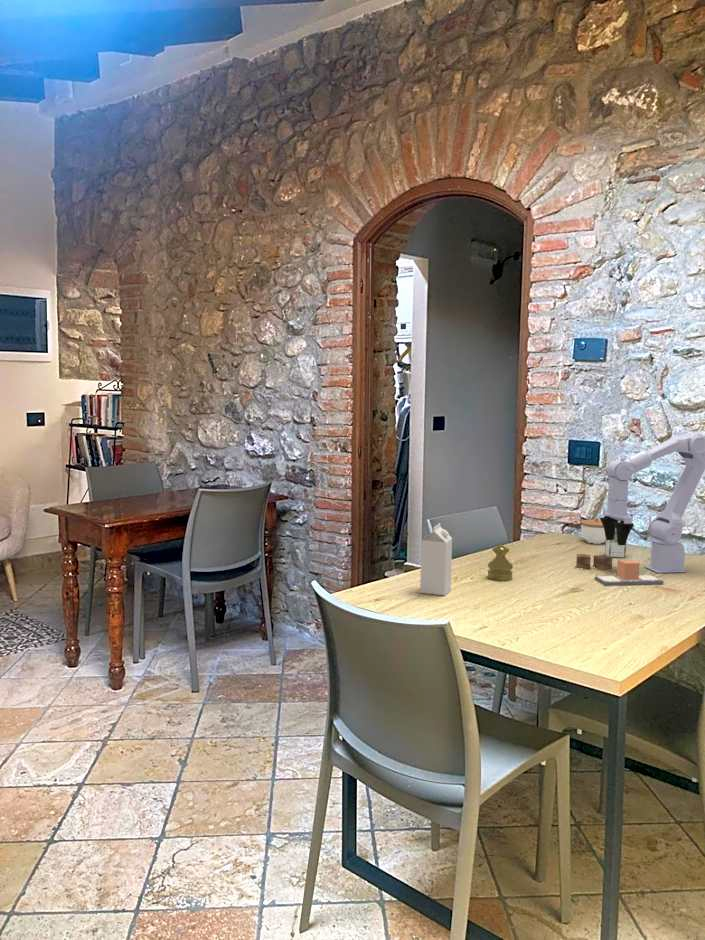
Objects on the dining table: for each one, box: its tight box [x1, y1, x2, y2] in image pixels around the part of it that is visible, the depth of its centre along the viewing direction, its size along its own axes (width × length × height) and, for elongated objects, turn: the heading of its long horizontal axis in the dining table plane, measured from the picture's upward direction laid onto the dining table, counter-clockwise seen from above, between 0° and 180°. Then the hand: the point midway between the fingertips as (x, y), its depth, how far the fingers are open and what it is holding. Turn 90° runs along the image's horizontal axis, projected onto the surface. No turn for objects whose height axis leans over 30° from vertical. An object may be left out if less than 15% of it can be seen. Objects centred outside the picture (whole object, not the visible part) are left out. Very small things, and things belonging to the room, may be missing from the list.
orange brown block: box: [616, 559, 640, 580], centre depth 228 cm, size 4×4×5 cm
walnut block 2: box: [592, 554, 613, 571], centre depth 244 cm, size 4×4×4 cm
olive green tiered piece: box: [487, 544, 514, 582], centre depth 231 cm, size 7×7×10 cm
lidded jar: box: [580, 517, 606, 545], centre depth 284 cm, size 11×11×9 cm
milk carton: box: [419, 522, 453, 596], centre depth 214 cm, size 7×7×19 cm
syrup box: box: [604, 520, 627, 559], centre depth 261 cm, size 6×6×14 cm
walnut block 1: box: [575, 553, 592, 570], centre depth 245 cm, size 4×4×4 cm
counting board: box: [594, 574, 665, 587], centre depth 228 cm, size 18×7×1 cm, turn 97°
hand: (615, 542), depth 239 cm, fingers open, 7 cm apart
